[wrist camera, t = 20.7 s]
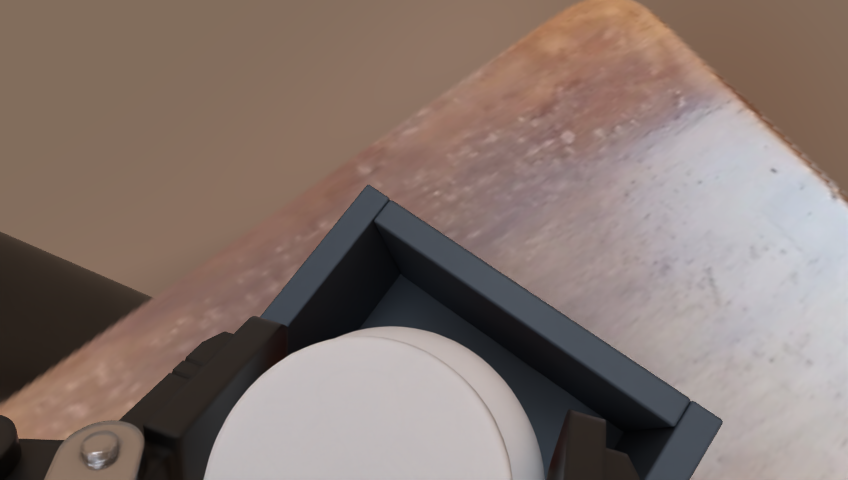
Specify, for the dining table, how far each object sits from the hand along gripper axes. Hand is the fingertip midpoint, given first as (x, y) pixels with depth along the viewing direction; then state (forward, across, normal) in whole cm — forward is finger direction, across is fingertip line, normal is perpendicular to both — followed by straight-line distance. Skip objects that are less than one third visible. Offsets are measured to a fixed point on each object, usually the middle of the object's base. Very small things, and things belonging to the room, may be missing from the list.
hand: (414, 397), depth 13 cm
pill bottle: (+4, 0, +6) cm, 8 cm away
